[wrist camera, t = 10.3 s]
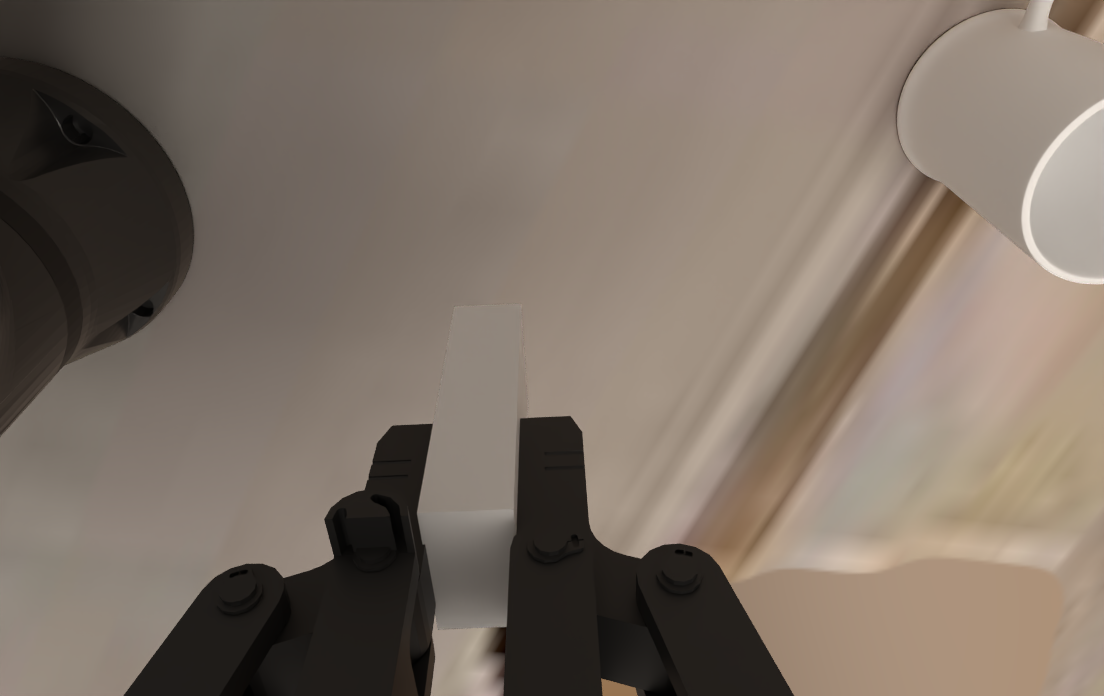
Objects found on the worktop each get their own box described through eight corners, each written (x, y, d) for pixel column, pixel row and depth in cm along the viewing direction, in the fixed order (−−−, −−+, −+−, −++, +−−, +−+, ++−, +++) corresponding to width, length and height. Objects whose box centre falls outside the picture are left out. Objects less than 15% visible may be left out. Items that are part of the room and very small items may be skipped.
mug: (931, -68, 36) (1087, -33, 26) (1123, -73, 36) (1354, -40, 26) (880, 184, 42) (988, 294, 32) (1044, 180, 42) (1204, 288, 32)
